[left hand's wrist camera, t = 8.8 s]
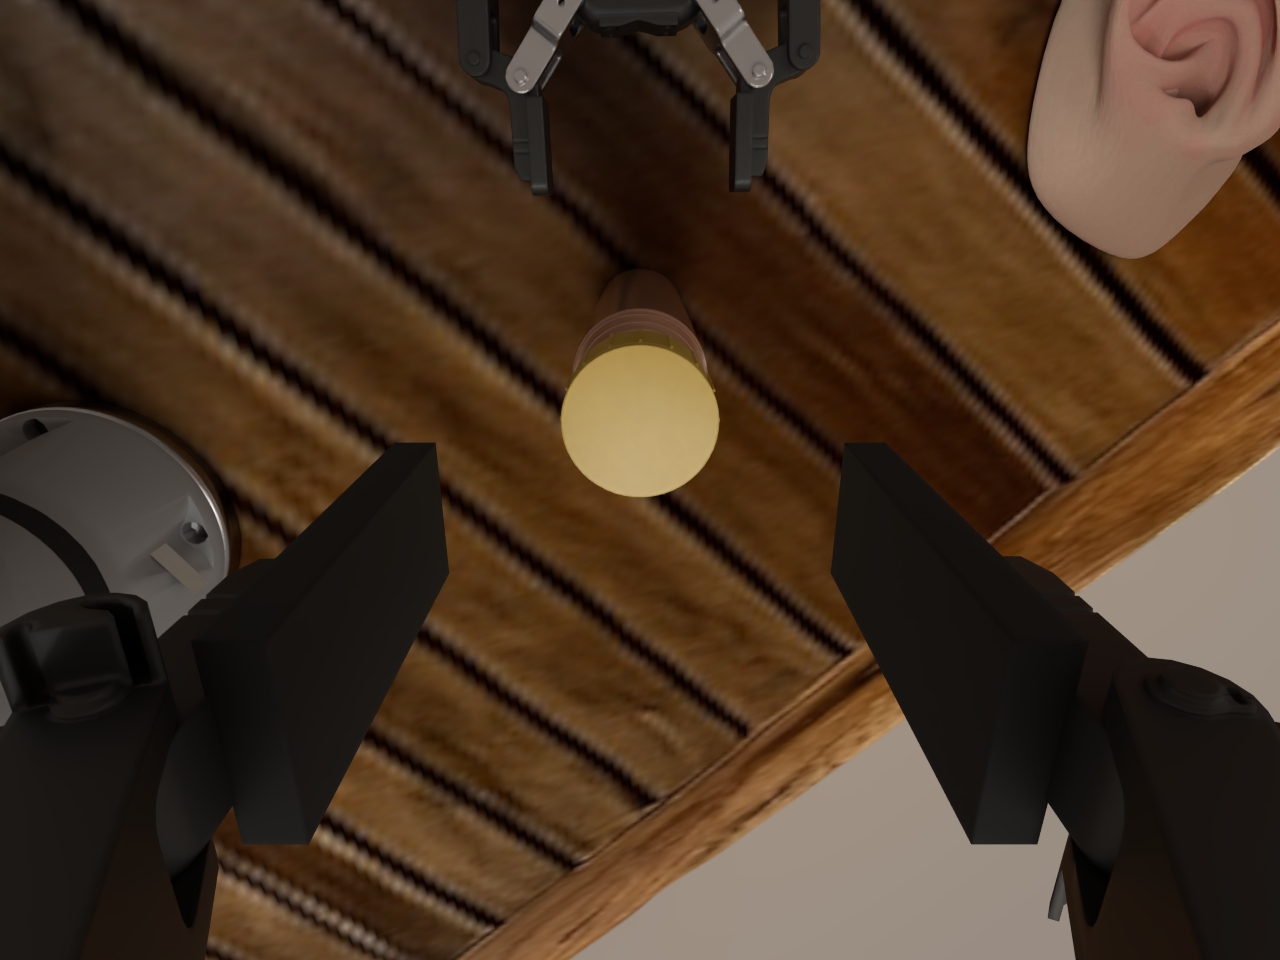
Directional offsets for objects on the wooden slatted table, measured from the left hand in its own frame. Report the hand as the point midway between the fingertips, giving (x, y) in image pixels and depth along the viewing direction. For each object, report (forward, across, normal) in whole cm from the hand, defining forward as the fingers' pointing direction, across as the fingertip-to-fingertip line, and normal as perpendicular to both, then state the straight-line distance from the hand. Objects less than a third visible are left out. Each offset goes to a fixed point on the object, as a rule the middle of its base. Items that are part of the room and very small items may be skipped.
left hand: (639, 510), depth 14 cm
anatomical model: (+27, +24, +10) cm, 38 cm away
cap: (+6, 0, 0) cm, 6 cm away
